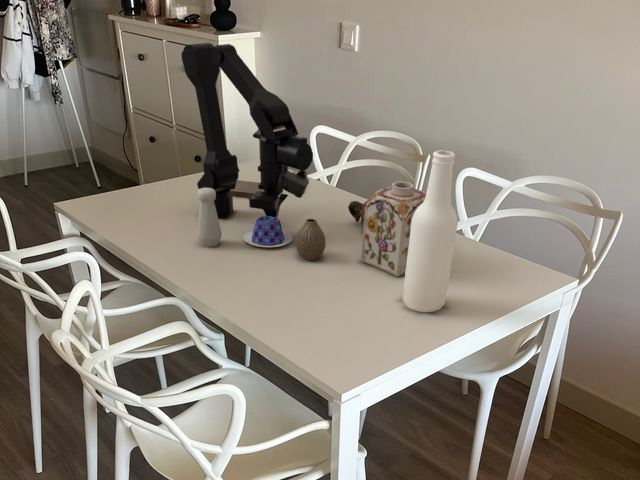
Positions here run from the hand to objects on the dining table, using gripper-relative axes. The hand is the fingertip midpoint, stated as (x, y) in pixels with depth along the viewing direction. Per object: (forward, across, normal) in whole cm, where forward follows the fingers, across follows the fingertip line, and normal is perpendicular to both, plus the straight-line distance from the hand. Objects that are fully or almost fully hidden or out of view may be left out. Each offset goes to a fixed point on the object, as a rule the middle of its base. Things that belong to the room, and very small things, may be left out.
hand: (273, 225), depth 165 cm
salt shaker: (+2, -11, +13) cm, 17 cm away
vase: (+2, -11, -12) cm, 17 cm away
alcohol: (+2, -28, -41) cm, 49 cm away
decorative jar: (+2, -8, -32) cm, 33 cm away
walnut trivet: (+3, +29, +16) cm, 33 cm away
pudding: (+2, -5, 0) cm, 5 cm away
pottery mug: (+3, +13, -22) cm, 26 cm away
